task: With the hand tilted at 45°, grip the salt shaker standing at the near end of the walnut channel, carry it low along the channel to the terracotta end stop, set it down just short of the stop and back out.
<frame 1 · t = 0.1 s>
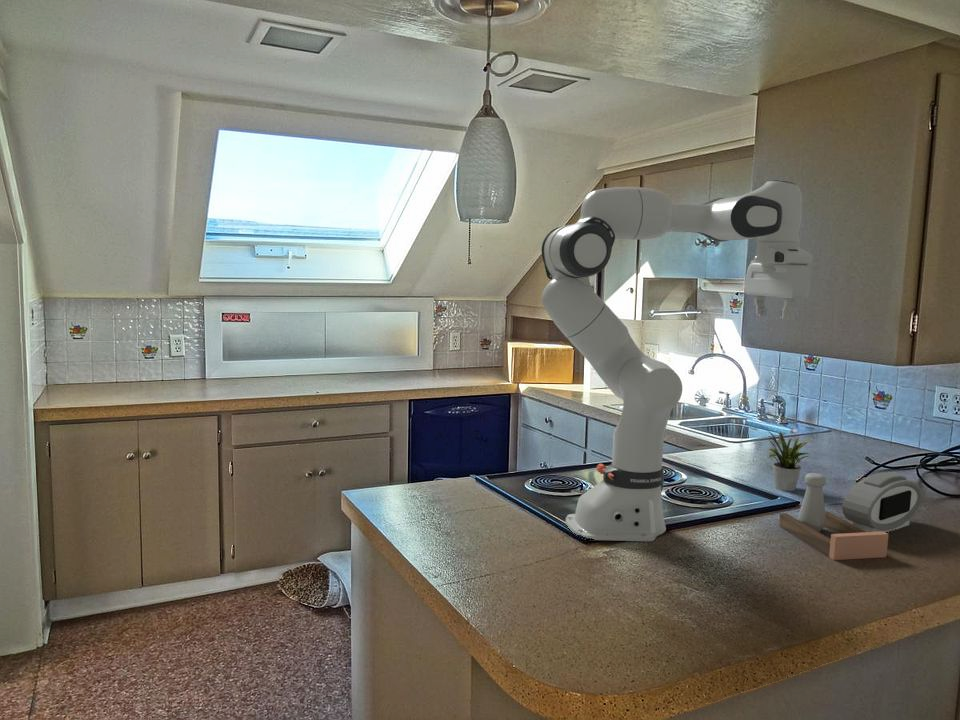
hand: (772, 317, 167), 48 cm above the counter, tool pointing down, fingers open, 8 cm apart
house plant: (779, 488, 200), on the counter
end stop: (857, 557, 153), on the counter
salt shaker: (810, 530, 169), on the counter
alarm clock: (880, 529, 171), on the counter
walnut channel: (827, 539, 163), on the counter
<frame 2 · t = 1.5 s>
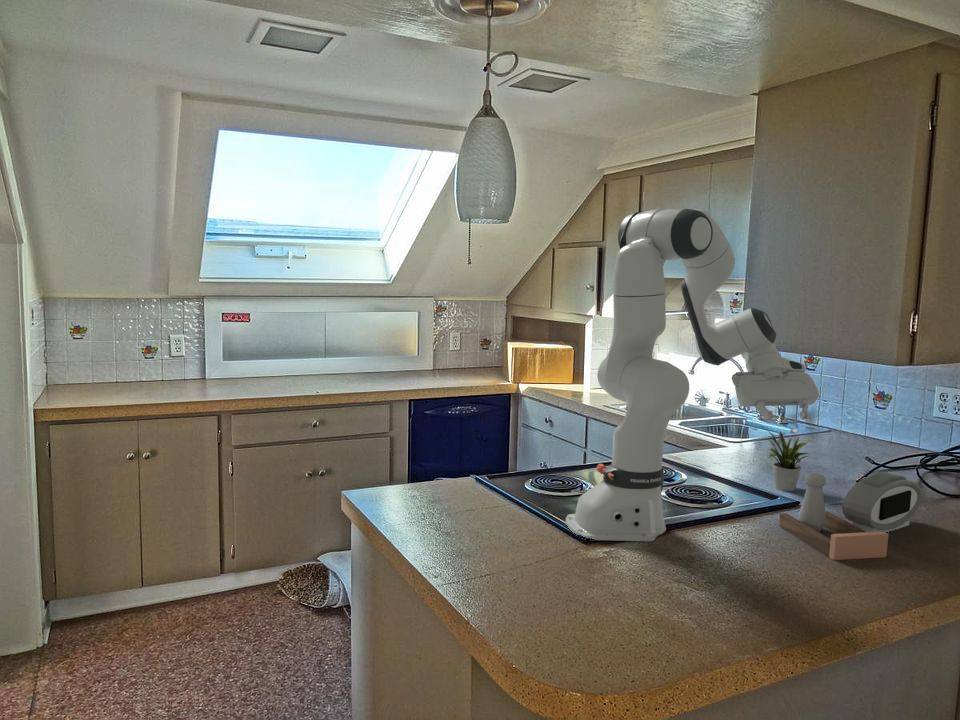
hand: (787, 418, 178), 23 cm above the counter, tool tilted 45°, fingers open, 8 cm apart
nothing on the counter moved.
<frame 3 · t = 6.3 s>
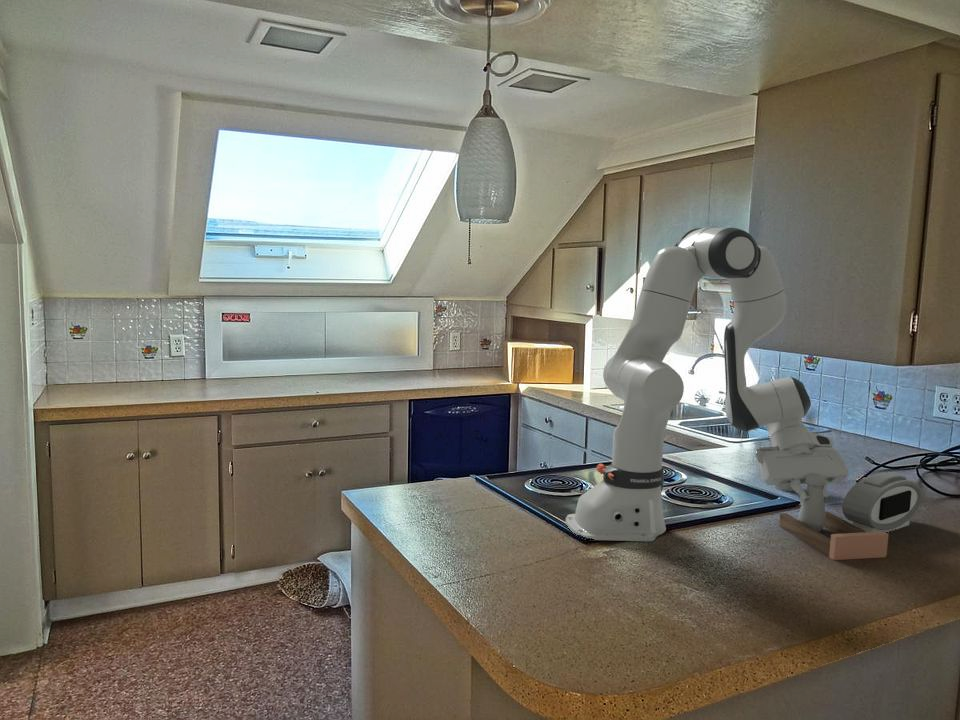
hand: (815, 499, 167), 7 cm above the counter, tool tilted 45°, fingers closed on salt shaker, 3 cm apart
salt shaker: (810, 530, 169), on the counter, touching gripper
everything else where it was.
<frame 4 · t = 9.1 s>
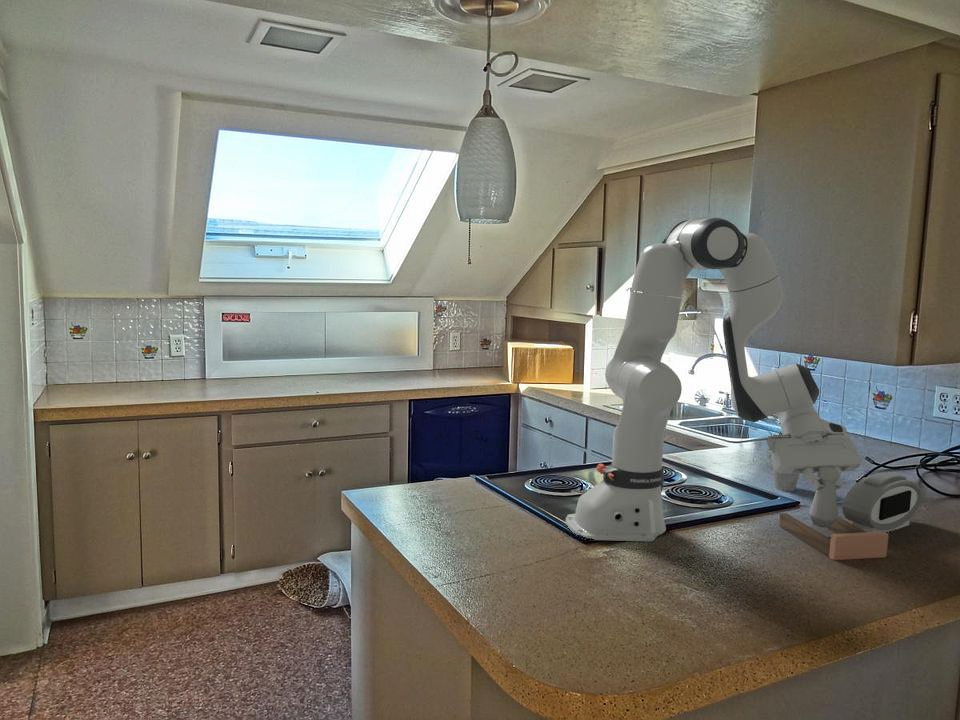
hand: (828, 488, 163), 11 cm above the counter, tool tilted 45°, fingers closed on salt shaker, 3 cm apart
salt shaker: (821, 524, 165), point 2 cm above the counter, touching gripper
everything else where it was.
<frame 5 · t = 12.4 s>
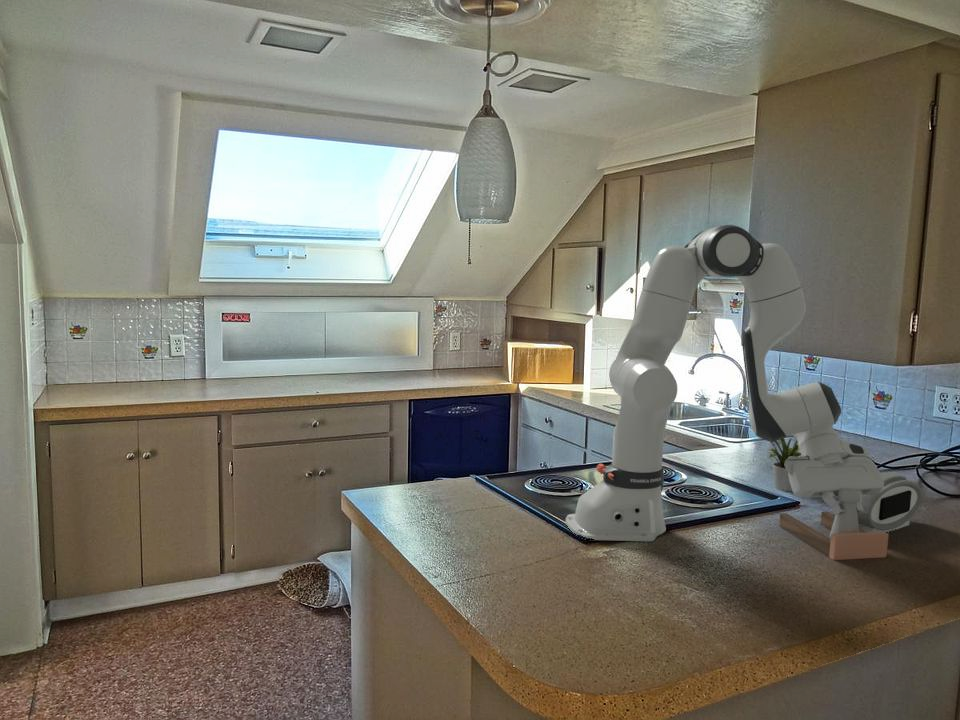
hand: (849, 513, 156), 8 cm above the counter, tool tilted 45°, fingers closed on salt shaker, 3 cm apart
salt shaker: (843, 548, 158), on the counter, touching gripper
everything else where it was.
when the fingers open (8 cm above the counter, at t = 13.3 s): salt shaker stays where it is, on the counter.
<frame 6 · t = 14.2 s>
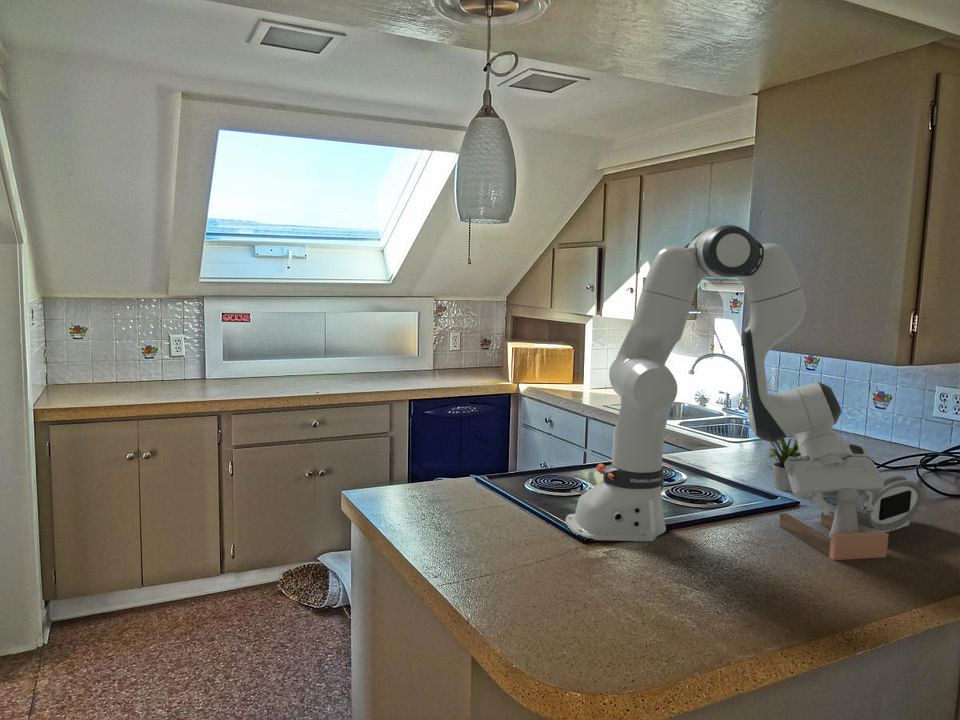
hand: (849, 513, 156), 8 cm above the counter, tool tilted 45°, fingers open, 8 cm apart
salt shaker: (843, 549, 158), on the counter
everything else where it was.
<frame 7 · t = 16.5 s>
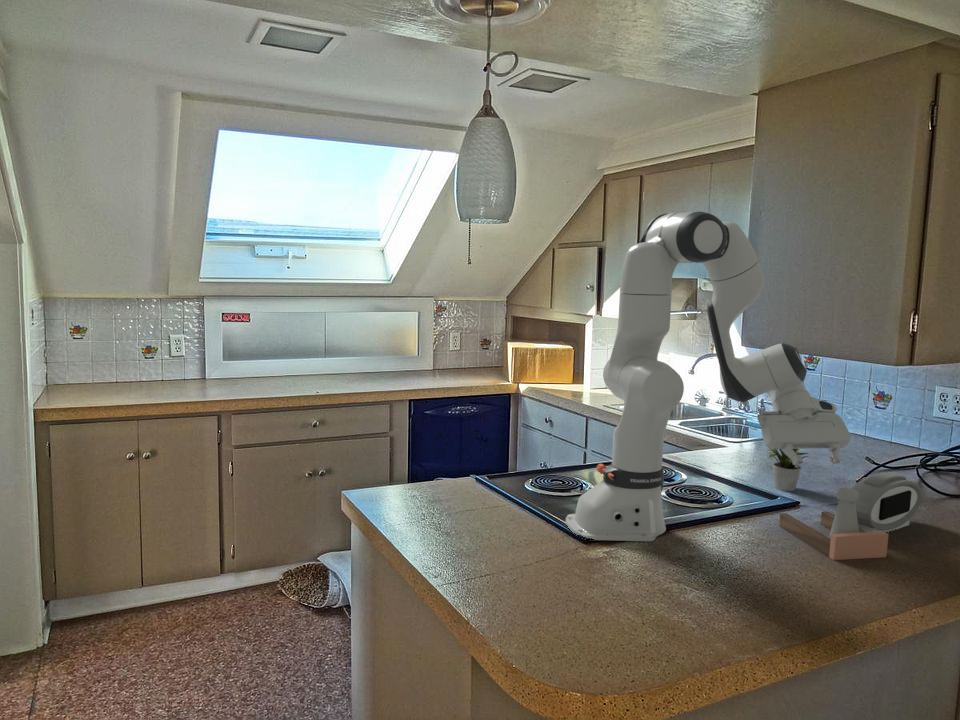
hand: (817, 463, 166), 16 cm above the counter, tool tilted 45°, fingers open, 8 cm apart
nothing on the counter moved.
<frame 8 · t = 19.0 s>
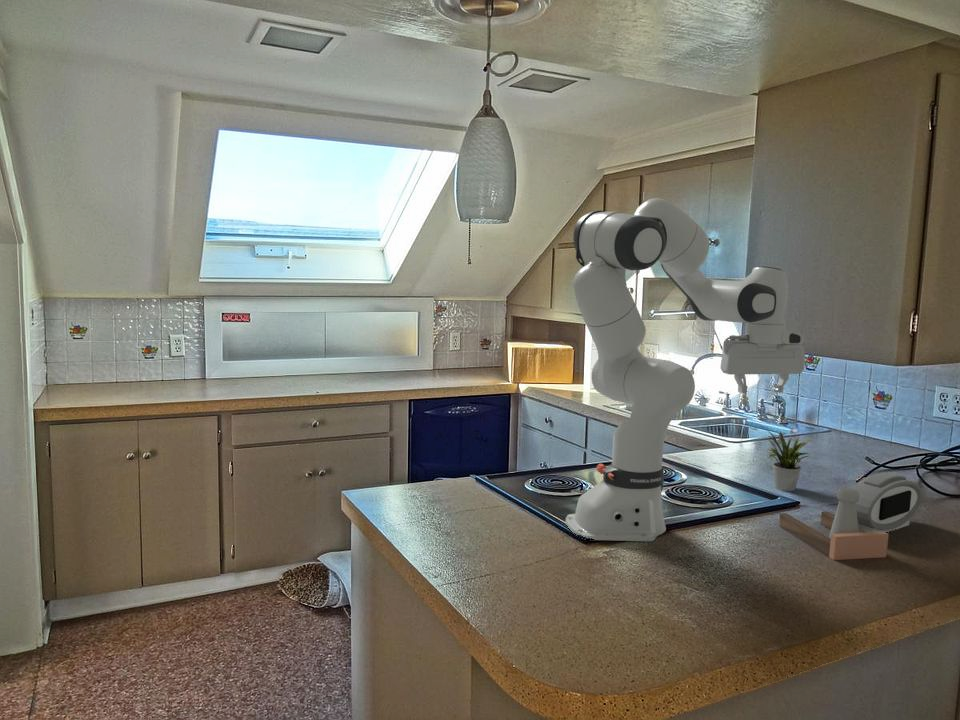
hand: (760, 392, 178), 29 cm above the counter, tool pointing down, fingers open, 8 cm apart
nothing on the counter moved.
at the end: salt shaker 0.8 cm from the target spot, on the counter; salt shaker tilted 0°; the gripper is holding nothing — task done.
